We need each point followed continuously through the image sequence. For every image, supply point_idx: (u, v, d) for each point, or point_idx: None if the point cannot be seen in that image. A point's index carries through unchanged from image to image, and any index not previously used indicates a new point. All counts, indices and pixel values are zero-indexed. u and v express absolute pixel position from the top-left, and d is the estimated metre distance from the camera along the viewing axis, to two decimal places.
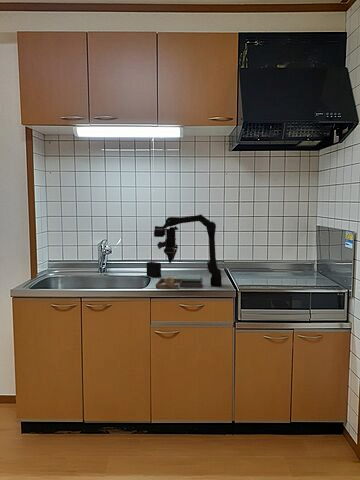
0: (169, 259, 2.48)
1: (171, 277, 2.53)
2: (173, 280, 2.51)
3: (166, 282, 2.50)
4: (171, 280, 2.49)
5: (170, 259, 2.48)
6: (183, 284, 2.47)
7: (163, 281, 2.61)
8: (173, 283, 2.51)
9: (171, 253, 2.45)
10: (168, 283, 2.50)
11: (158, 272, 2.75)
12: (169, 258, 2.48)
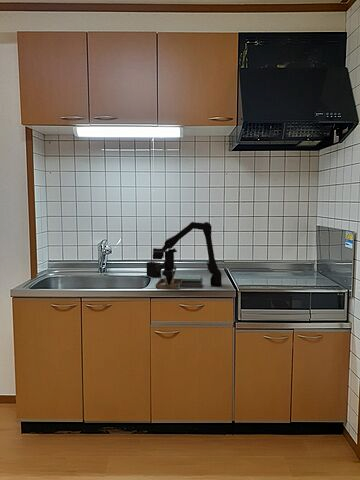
0: (168, 281, 2.49)
1: None
2: (173, 280, 2.51)
3: (166, 282, 2.50)
4: (171, 280, 2.49)
5: (169, 281, 2.48)
6: (183, 284, 2.47)
7: (163, 281, 2.61)
8: (173, 283, 2.51)
9: (170, 275, 2.45)
10: None
11: (158, 272, 2.75)
12: (168, 280, 2.48)
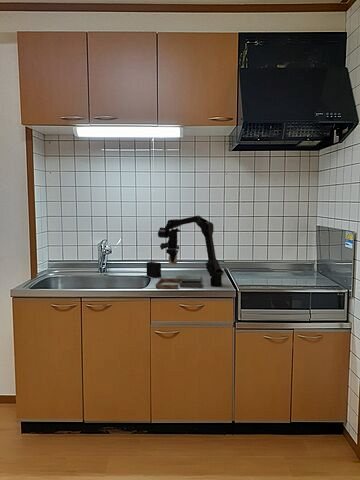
0: (172, 259, 2.63)
1: None
2: (176, 258, 2.66)
3: (169, 260, 2.65)
4: None
5: (172, 259, 2.63)
6: (183, 284, 2.47)
7: (163, 281, 2.61)
8: (176, 261, 2.66)
9: (174, 253, 2.60)
10: None
11: (158, 272, 2.75)
12: (172, 258, 2.63)
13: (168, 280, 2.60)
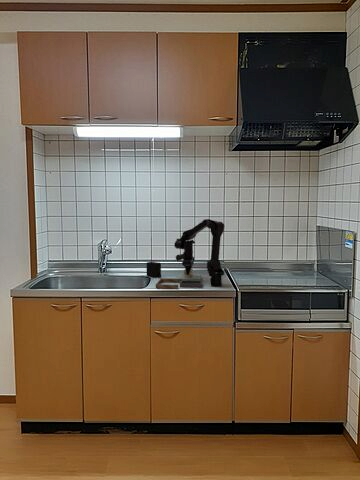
0: (187, 271, 2.62)
1: None
2: (192, 272, 2.66)
3: (185, 273, 2.65)
4: (190, 272, 2.64)
5: (188, 271, 2.62)
6: (183, 284, 2.47)
7: (163, 281, 2.61)
8: (192, 274, 2.66)
9: (189, 265, 2.58)
10: None
11: (158, 272, 2.75)
12: (187, 270, 2.61)
13: (168, 280, 2.60)
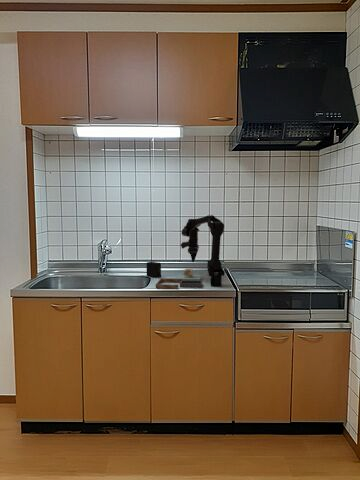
0: (192, 258, 2.65)
1: (190, 269, 2.68)
2: (192, 272, 2.66)
3: (185, 273, 2.65)
4: (190, 272, 2.64)
5: (193, 258, 2.65)
6: (183, 284, 2.47)
7: (163, 281, 2.61)
8: (192, 274, 2.66)
9: (194, 252, 2.62)
10: (187, 274, 2.65)
11: (158, 272, 2.75)
12: (192, 257, 2.65)
13: (168, 280, 2.60)
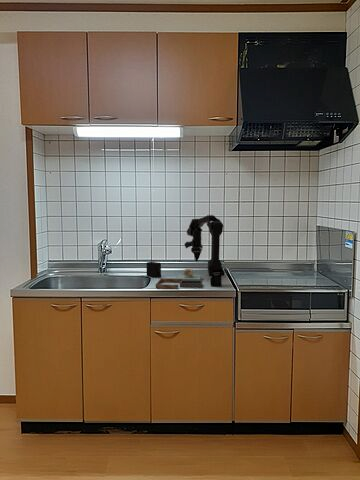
0: (196, 258, 2.68)
1: (190, 269, 2.68)
2: (192, 272, 2.66)
3: (185, 273, 2.65)
4: (190, 272, 2.64)
5: (197, 258, 2.68)
6: (183, 284, 2.47)
7: (163, 281, 2.61)
8: (192, 274, 2.66)
9: (198, 252, 2.65)
10: (187, 274, 2.65)
11: (158, 272, 2.75)
12: (196, 257, 2.68)
13: (168, 280, 2.60)
